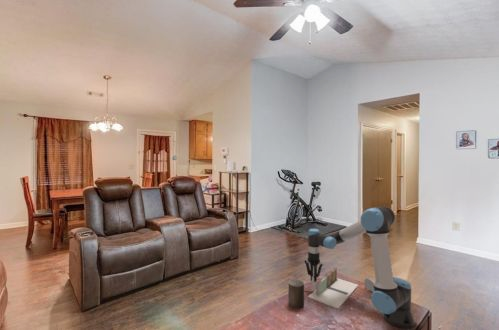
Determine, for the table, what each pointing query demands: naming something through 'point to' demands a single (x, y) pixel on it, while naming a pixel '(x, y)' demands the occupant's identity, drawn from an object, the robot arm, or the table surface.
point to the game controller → (369, 284)
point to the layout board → (335, 293)
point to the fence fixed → (331, 277)
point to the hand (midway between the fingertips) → (313, 285)
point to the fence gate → (321, 285)
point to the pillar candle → (296, 294)
